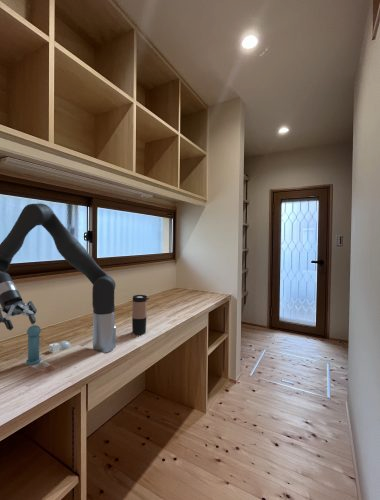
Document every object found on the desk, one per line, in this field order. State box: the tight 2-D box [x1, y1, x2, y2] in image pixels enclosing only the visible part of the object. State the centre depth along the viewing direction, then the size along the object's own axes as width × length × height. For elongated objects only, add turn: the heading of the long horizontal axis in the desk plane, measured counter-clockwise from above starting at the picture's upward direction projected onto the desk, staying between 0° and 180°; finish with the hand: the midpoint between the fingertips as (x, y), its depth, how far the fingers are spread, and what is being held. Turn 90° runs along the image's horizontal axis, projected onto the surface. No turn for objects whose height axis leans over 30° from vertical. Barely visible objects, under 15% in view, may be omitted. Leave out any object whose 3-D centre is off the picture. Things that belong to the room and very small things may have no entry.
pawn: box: [25, 324, 42, 366], centre depth 99 cm, size 5×5×14 cm
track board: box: [23, 359, 60, 375], centre depth 97 cm, size 7×16×1 cm, turn 62°
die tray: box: [48, 340, 72, 354], centre depth 112 cm, size 10×8×6 cm
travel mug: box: [131, 294, 148, 336], centre depth 138 cm, size 8×8×20 cm
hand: (23, 326), depth 102 cm, fingers open, 8 cm apart
